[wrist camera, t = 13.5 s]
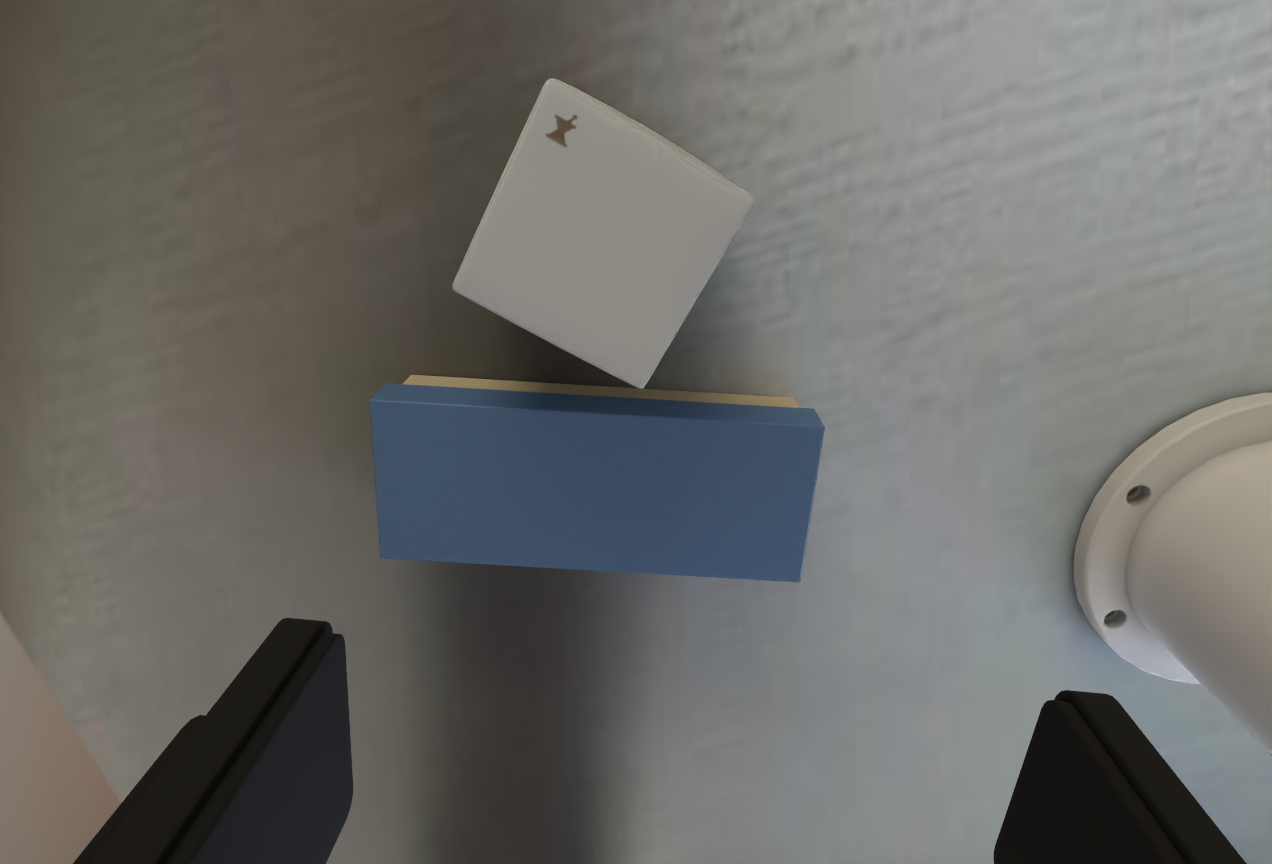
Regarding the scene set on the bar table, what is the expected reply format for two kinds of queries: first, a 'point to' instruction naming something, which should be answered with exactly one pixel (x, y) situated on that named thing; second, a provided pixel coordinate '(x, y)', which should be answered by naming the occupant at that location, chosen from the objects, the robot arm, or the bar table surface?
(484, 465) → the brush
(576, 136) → the product box
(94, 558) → the bar table surface
